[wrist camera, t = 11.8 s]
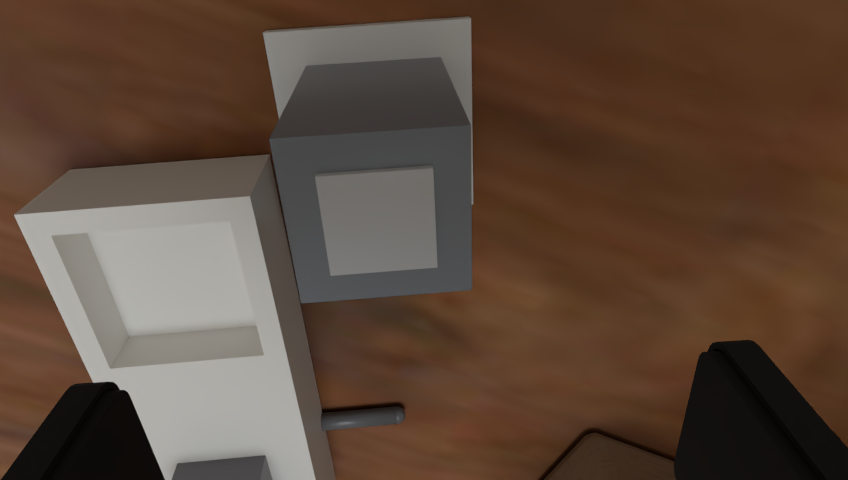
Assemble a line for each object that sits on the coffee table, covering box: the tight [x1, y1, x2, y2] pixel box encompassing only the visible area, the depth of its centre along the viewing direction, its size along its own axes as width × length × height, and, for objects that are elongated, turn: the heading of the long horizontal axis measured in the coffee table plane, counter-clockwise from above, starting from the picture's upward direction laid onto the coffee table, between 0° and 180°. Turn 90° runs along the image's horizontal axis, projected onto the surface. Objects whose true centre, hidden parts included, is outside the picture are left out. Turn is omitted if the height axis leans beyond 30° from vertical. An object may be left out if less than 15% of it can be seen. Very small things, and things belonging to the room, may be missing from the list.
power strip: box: [14, 154, 405, 480], centre depth 25 cm, size 12×20×7 cm, turn 3°
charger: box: [269, 57, 472, 303], centre depth 19 cm, size 5×5×8 cm
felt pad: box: [263, 16, 473, 204], centre depth 22 cm, size 8×8×1 cm
